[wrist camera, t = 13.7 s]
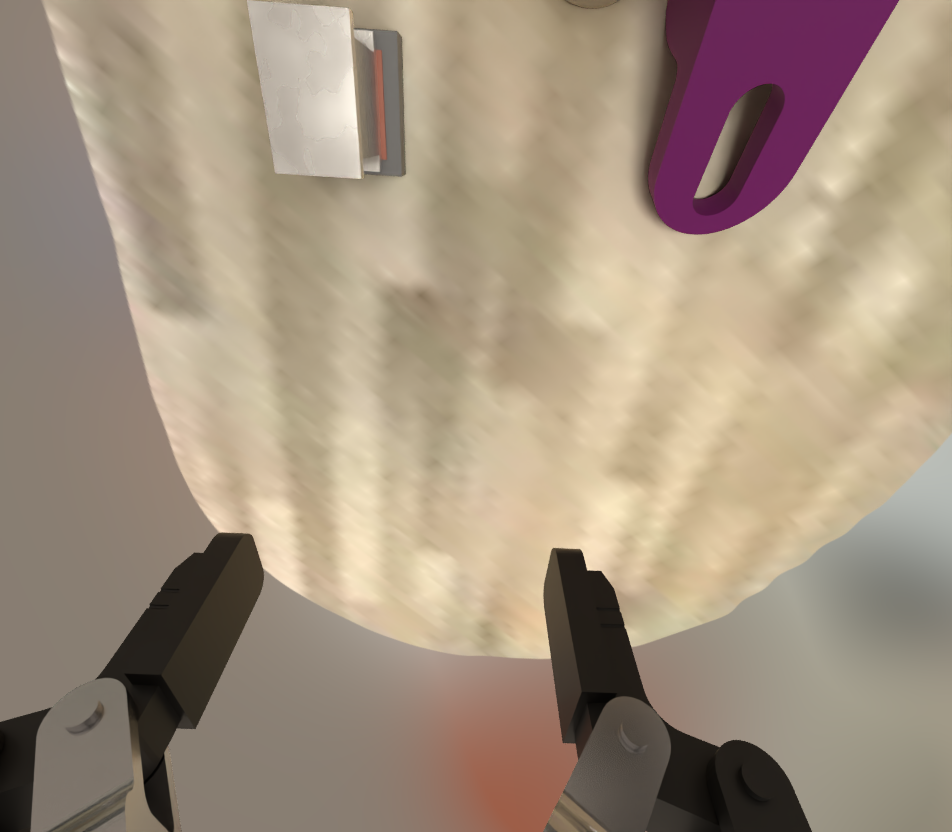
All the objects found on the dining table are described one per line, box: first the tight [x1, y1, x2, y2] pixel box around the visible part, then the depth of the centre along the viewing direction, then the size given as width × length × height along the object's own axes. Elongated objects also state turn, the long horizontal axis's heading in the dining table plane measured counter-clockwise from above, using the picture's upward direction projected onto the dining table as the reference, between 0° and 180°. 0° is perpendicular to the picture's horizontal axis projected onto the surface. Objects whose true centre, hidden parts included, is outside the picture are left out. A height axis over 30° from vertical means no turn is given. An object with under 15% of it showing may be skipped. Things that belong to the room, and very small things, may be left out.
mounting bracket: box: [648, 0, 899, 234], centre depth 29 cm, size 9×8×18 cm
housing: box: [247, 0, 382, 179], centre depth 27 cm, size 8×5×7 cm, turn 177°
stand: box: [354, 28, 406, 176], centre depth 30 cm, size 8×8×2 cm
